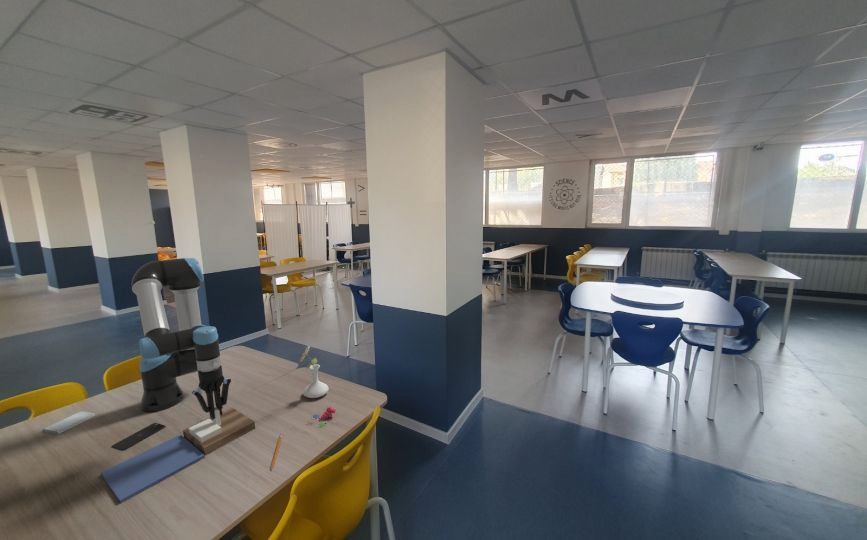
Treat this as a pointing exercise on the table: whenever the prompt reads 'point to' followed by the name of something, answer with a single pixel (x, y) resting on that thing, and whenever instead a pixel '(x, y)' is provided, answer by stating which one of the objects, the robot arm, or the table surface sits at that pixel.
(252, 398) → the table surface
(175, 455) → the mat
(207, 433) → the tile
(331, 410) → the toy pieces
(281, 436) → the pencil
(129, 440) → the smartphone
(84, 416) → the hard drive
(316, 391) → the flower in vase
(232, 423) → the brown board
